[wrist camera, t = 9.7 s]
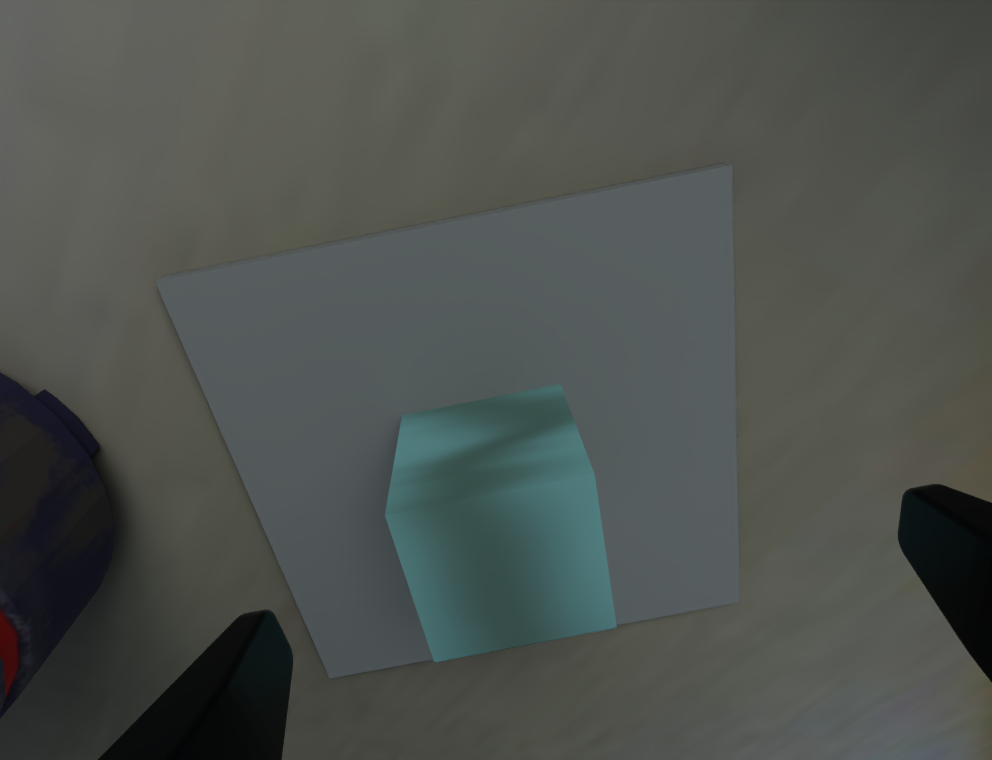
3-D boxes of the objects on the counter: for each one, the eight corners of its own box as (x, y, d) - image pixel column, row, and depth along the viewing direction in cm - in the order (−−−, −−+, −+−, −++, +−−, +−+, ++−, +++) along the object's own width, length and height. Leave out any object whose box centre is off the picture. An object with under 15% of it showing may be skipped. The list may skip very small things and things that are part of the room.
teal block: (560, 383, 18) (594, 473, 14) (581, 512, 21) (616, 627, 16) (401, 415, 19) (384, 515, 14) (438, 540, 21) (434, 662, 16)
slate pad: (723, 163, 17) (732, 165, 16) (733, 590, 23) (739, 602, 23) (164, 275, 17) (154, 281, 16) (332, 665, 24) (329, 678, 23)
